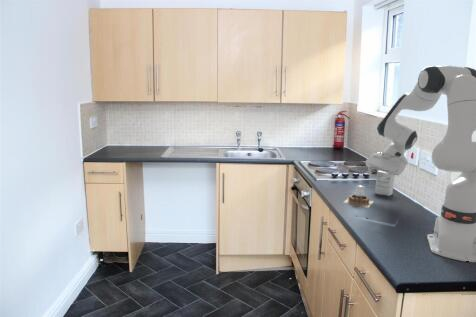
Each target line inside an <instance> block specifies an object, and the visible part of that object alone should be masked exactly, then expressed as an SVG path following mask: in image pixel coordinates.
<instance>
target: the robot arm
mask: <svg viewBox="0 0 476 317" xmlns="http://www.w3.org/2000/svg"><path fill="white" fill-rule="evenodd" d="M442 95H446V105H447V130H446V133H445V136H444V137H443V139H442V140H441V141H440V142H439V143H437V144H436V146H434V148H433V149H432V153H431V160H432V163H433V166H435V167H436V168H437V169H439V170H442V171H446V172H450V173H451V172H452V173H460V175H459V176H458V177H457V178H455V179H454V180H452V181H450V182H449V183H448V184H447V185H446V188H445V195H444V200H443V204H442V205H441V209H440V210H441V211H440V215H439V216H437V217H436V218H435V223H434V227H433V230H432V234H431V233H429V234H427V236H426V239H427V241H428V242H427V243H428V246H429V249H430V251H431V253H433V254H435V255H438V256H441V257H443V258H447V259H450V260H451V259H453V260H456V261H461V262H466V261H469V262H468V263H476V141H472V140H473V139H472V138H473V133H474V132H475V131H476V69H474V68H472V67H467V66H465V67H463V66H453V65H431V66H426V67H424V68H422V70H421V71H420V73H419V75H418V78H417V82H416V84H415V86H414V87H413V89H412V90H411V91H410V92H406V93H404V94H402V95H401V96H399V97H398V99H397V101H396V102H395V103H394V104H393V106H391V108H390V109H389V111H387V113H386V115H385V116H383V118H382V119H381V120H380V121H379V123H378V124H377V127H376V130H377V132H378V135H379V136H382V137H383V138H386V139H387V140H390V141H391V142H390V143H389V144H388V145H387V146H386V147H385V148H384V150H383V151H382V152H379V151H378V152H374V153H372V154H371V155H370V156H369V157H367V159H366V160H365V165H366V166H367V171H366V174H367V175H368V176H371V174H372V173H373V172H372V171H373V170H376V171H379V170H380V171H383V172H387V173H386V174H385V175H382V177H381V178H382V179H384V180H385V179H386V178H387V177H389V176H391V175H392V174H393V175H395V176H397V177H398V176H400V175H402V173H403V172H404V171H405V169H406V166H408V164H409V161H408V159H407V158H406V156H405V152H407V151H409V150H411V148H413V146H414V145H415V143H416V142H417V140H418V134H417V131H416V130H415V129H413V128H412V127H411V126H409V125H406V124H404V123H402V122H401V121H399V120H397V119H396V117H397V116H398V115H399V113H400V112H401V111H402V110H403V111H404V110H409V111H410V110H411V111H415V112H426V111H429V110H431V109H433V108H434V107H435V106H436V104H437V103H438V102H439V100H440V99H441V97H442Z"/></svg>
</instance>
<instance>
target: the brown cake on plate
mask: <svg viewBox="0 0 476 317" xmlns="http://www.w3.org/2000/svg"><path fill="white" fill-rule="evenodd" d="M370 198H371V197H369V196H367V195H365V194H364V198H363V199H355V193H352V194H349V195H348V198H346V199H345V200H344V201H343V202H342V203H343V204H346V205H347V204H348V205H351V206H355V207H356V206H357V207H361V208H370V207H371V206H372V205H373V203H374V200H371V199H370Z"/></svg>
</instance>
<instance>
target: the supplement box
mask: <svg viewBox="0 0 476 317" xmlns="http://www.w3.org/2000/svg"><path fill="white" fill-rule="evenodd" d="M386 173H387V172H383V171H380V170H376V178H375V180H376V181H375V189H374V194H377V195H380V196H381V195H382V196H388V197H390V196H392V195H393V193H394V192H393V190H394V184H395V178H396V177H395V176H396V175H393V174H392V175H391V176H389V177H387V178H386V179H385V180H384V179H382V178H381V177H382V175H385V174H386Z"/></svg>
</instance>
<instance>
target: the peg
mask: <svg viewBox="0 0 476 317" xmlns="http://www.w3.org/2000/svg"><path fill="white" fill-rule="evenodd" d="M365 187H366V186H364V185H362V184H357V185H355V192H354V194H355V199H363V198H364V195H365Z"/></svg>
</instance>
